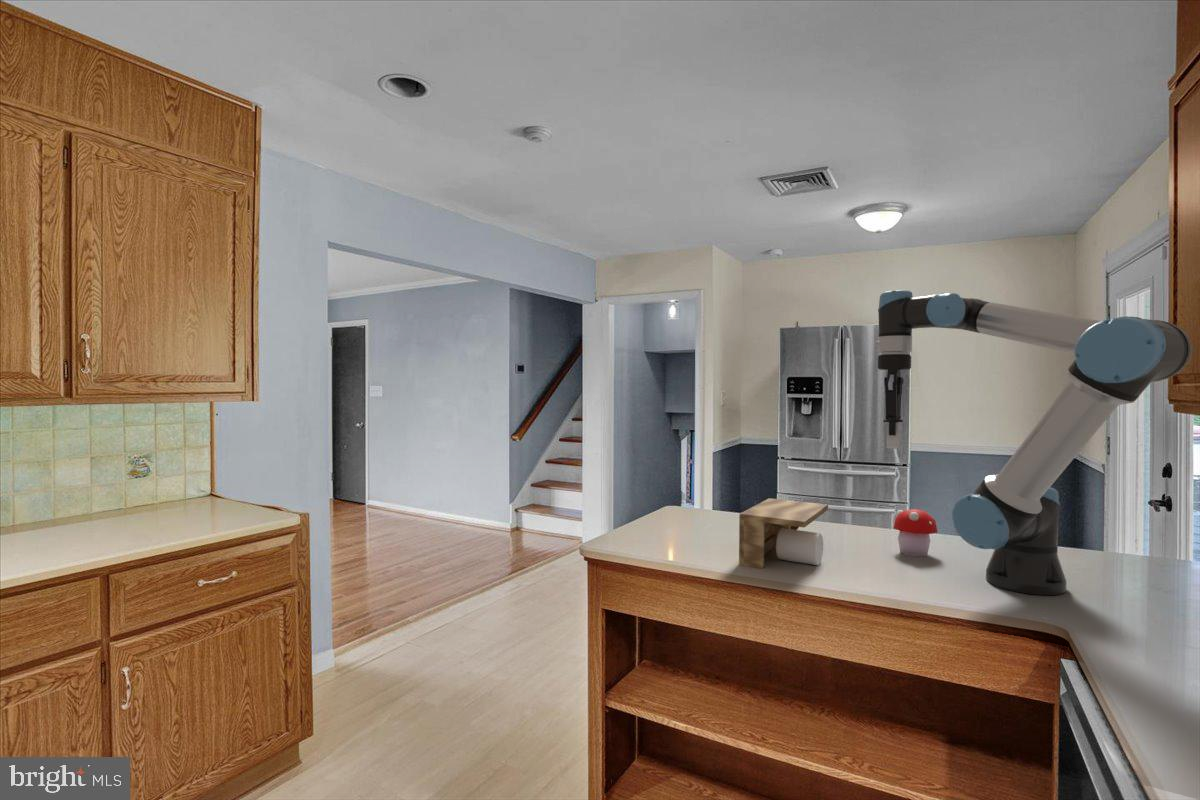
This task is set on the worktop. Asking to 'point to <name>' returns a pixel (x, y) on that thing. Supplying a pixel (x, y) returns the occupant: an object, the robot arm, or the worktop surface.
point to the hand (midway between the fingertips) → (892, 448)
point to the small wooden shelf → (771, 526)
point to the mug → (799, 546)
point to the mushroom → (914, 531)
